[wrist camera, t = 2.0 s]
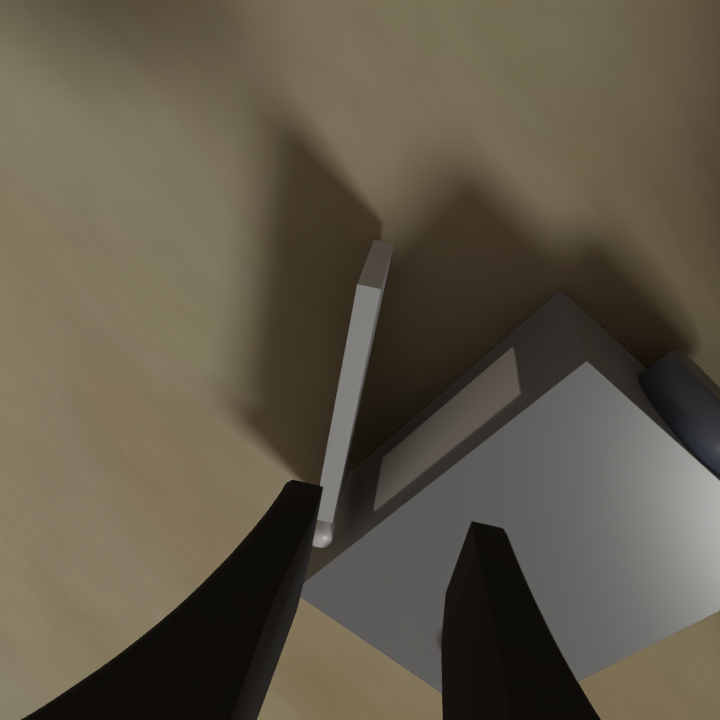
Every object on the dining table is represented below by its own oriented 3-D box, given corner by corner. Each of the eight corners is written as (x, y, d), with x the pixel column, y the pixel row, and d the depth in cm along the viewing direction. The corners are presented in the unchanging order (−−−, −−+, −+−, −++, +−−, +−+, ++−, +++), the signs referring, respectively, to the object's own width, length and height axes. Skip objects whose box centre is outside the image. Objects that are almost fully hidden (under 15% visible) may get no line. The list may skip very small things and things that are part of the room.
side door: (371, 237, 19) (352, 285, 15) (397, 242, 19) (384, 292, 15) (327, 468, 23) (305, 544, 20) (348, 473, 23) (329, 550, 20)
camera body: (591, 260, 18) (631, 338, 14) (780, 440, 20) (868, 559, 16) (318, 497, 24) (286, 605, 20) (485, 620, 26) (490, 742, 22)
